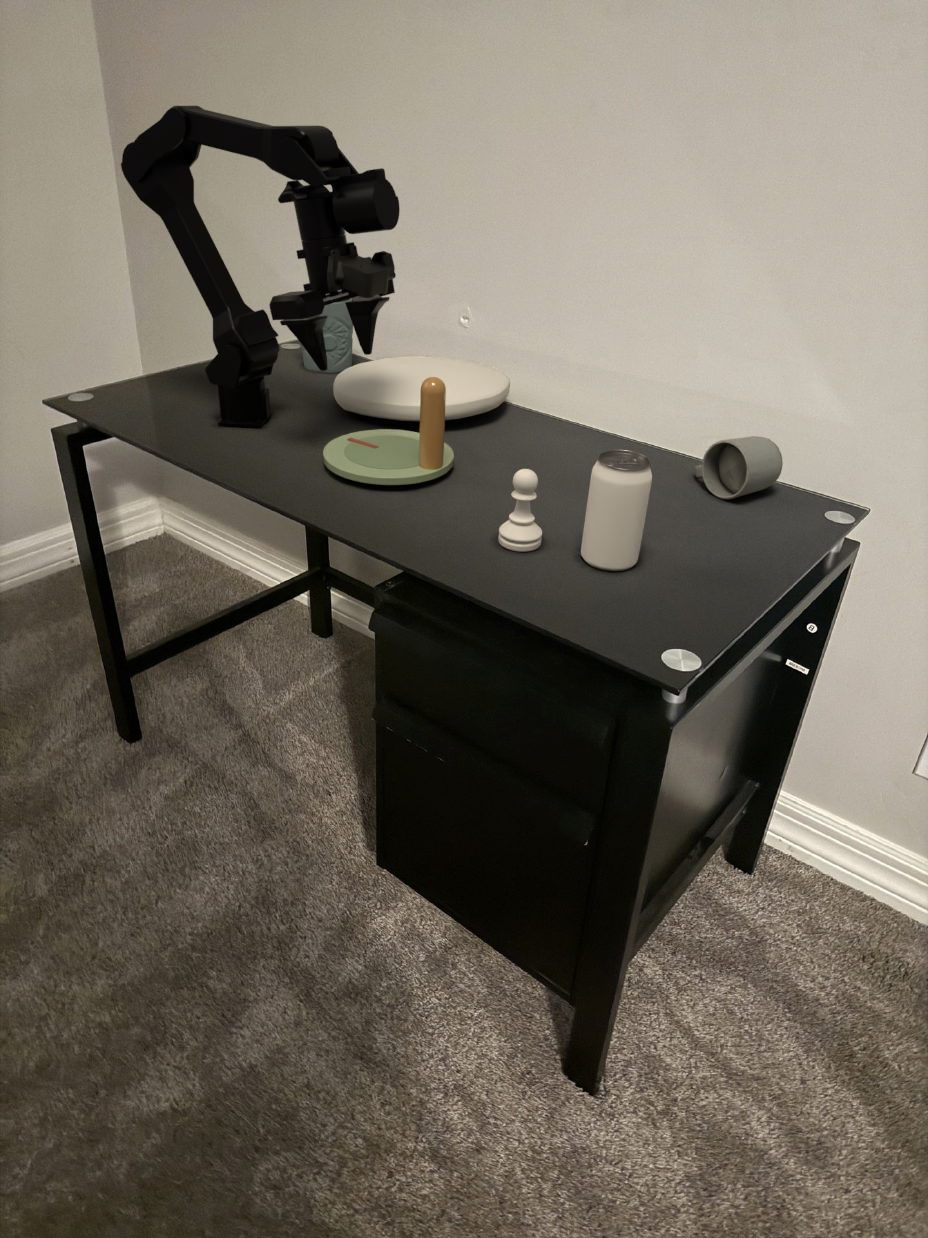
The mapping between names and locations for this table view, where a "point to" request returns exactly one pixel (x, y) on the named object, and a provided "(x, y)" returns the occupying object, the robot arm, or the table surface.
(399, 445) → the green disc with post
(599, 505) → the can
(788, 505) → the table surface
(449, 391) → the white round disc
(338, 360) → the teal embossed cup
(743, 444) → the ceramic mug
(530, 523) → the chess pawn
